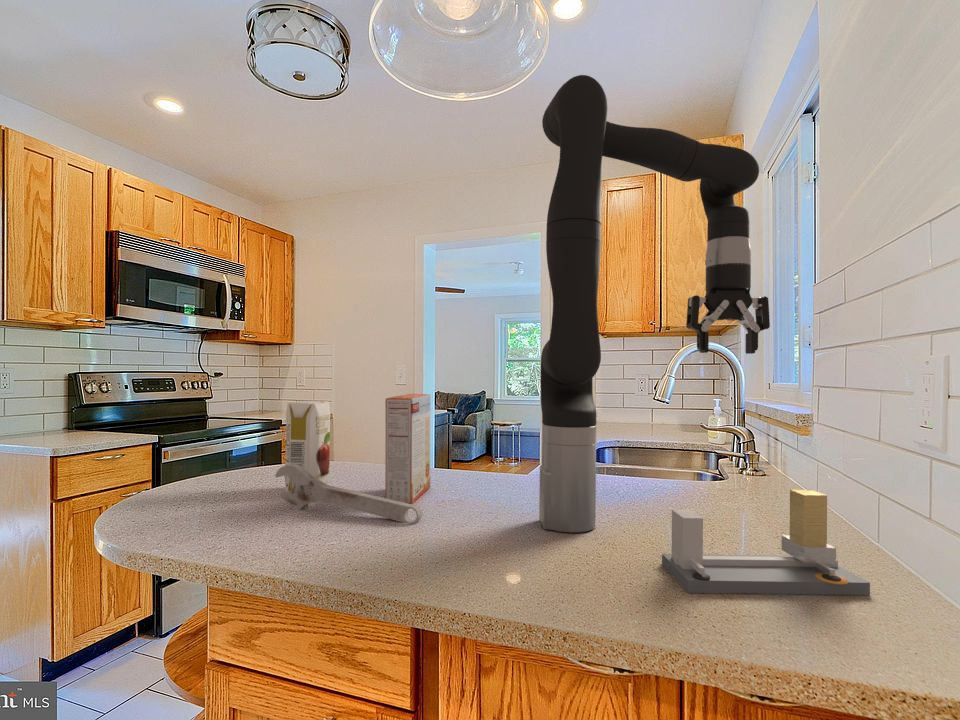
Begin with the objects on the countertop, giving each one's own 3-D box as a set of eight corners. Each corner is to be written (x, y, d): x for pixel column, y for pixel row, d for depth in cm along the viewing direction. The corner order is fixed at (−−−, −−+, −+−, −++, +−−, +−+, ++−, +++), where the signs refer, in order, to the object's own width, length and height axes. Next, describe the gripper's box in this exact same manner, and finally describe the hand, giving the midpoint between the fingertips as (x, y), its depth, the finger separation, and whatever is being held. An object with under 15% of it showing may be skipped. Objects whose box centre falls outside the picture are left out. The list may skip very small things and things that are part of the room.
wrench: (415, 541, 89) (271, 504, 98) (419, 538, 91) (278, 502, 100) (420, 495, 89) (276, 462, 98) (425, 492, 90) (282, 460, 100)
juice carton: (280, 494, 108) (281, 402, 108) (300, 485, 116) (302, 400, 116) (314, 496, 106) (315, 403, 107) (332, 487, 115) (334, 401, 115)
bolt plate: (690, 595, 62) (691, 528, 62) (661, 564, 72) (662, 506, 72) (874, 597, 62) (874, 530, 62) (821, 566, 72) (821, 508, 72)
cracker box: (404, 487, 116) (406, 393, 116) (431, 488, 115) (432, 393, 115) (382, 503, 102) (384, 396, 102) (412, 505, 101) (413, 397, 101)
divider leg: (815, 575, 64) (816, 501, 64) (781, 554, 71) (781, 487, 71) (848, 575, 64) (848, 502, 64) (810, 554, 71) (811, 488, 71)
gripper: (697, 260, 92) (697, 352, 92) (778, 261, 92) (777, 353, 92) (681, 268, 100) (680, 353, 99) (755, 269, 100) (755, 354, 99)
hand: (727, 353), depth 96 cm, fingers open, 8 cm apart
